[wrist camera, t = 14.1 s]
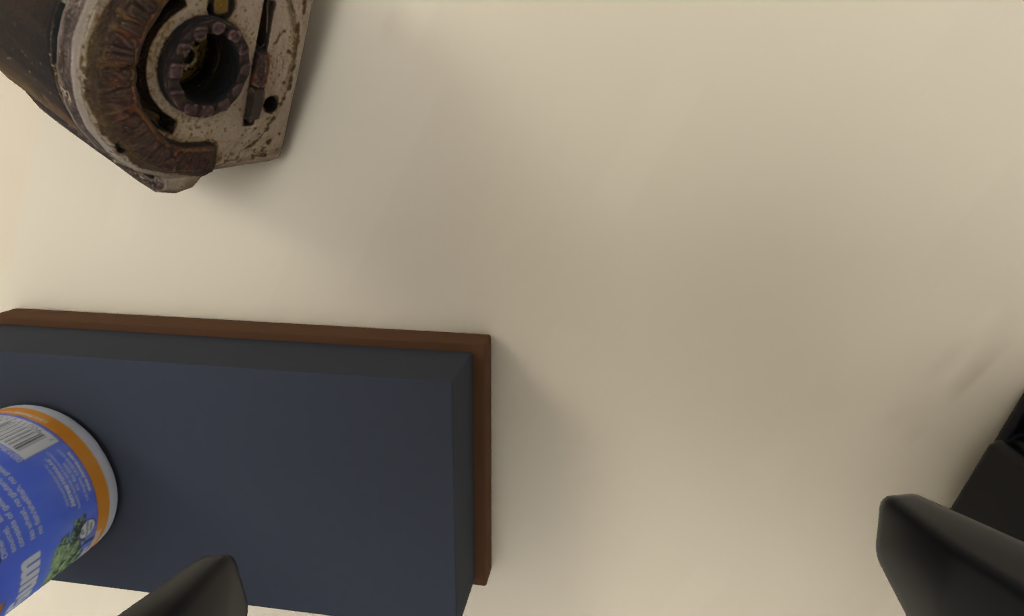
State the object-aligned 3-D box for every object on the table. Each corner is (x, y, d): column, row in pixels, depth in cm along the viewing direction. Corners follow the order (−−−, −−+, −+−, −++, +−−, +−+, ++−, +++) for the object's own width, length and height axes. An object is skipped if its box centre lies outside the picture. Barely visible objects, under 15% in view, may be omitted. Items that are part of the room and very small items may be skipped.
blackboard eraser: (491, 334, 21) (466, 372, 18) (491, 568, 24) (469, 642, 20) (15, 308, 24) (-85, 336, 21) (58, 520, 27) (-25, 577, 23)
